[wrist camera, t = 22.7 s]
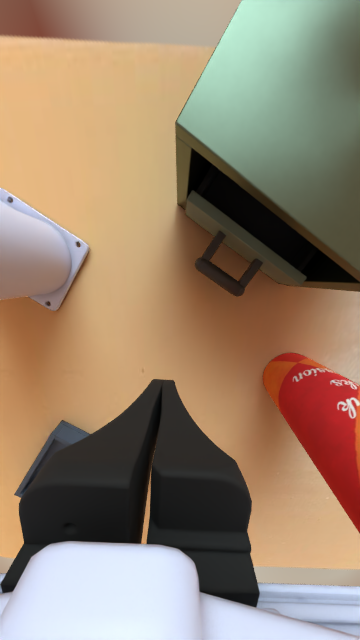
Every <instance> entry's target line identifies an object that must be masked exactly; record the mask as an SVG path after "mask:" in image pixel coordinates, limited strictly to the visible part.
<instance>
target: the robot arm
mask: <svg viewBox="0 0 360 640" xmlns="http://www.w3.org/2000/svg"><path fill="white" fill-rule="evenodd" d="M12 199H13V202H12V203H11V200H12ZM79 242H80V244H81V246H80V247H78V243H79ZM88 252H89V246H88V244H86V243H85V242H83V241H82V240H80V239H79V238H77V237H76V236H74V235H73V234H71V233H70V232H68V231H67V230H65V229H64V228H62V227H61V226H59V225H58V224H56V223H55V222H53V221H52V220H50V219H49V218H47V217H46V216H44V215H43V214H41V213H39V212H38V211H36V210H35V209H33V208H32V207H30V206H29V205H27V204H26V203H24V202H23V201H21V200H20V199H18V198H17V197H15V196H14V195H12V194H11V193H9V192H8V191H6V190H4V189H2V188H0V300H3V299H11V298H18V297H26V296H28V297H29V298H31V299H33V300H34V301H36V302H38V303H39V304H41V305H43V306H45V307H46V308H48V309H50V310H52V311H56V310H58V309H59V307H60V305H61V303H62V301H63V299H64V298H65V296H66V294H67V292H68V290H69V288H70V286H71V284H72V282H73V280H74V278H75V277H76V275H77V273H78V271H79V269H80V267H81V265H82V263H83V261H84V259H85V258H86V256H87V254H88ZM48 302H50V305H49V304H48ZM155 446H156V448H155ZM154 451H155V452H154ZM153 455H154V457H153ZM152 460H153V461H152ZM151 465H152V470H151ZM150 471H151V498H150V519H149V527H148V535H147V544H141V540H142V532H143V524H144V516H145V508H146V500H147V493H148V485H149V478H150ZM251 507H252V501H251V498H250V494H249V490H248V487H247V485H246V482H245V480H244V478H243V476H242V473H241V471H240V469H239V467H238V465H237V463H236V461H235V460H234V459H233V458H231V457H230V456H229V455H227V454H226V453H225V452H224V451H222V450H221V449H220V448H219V447H217V446H216V445H215V444H214V443H213V442H212V441H211V440H210V439H209V438H208V437H207V436H206V435H205V434H204V433H203V432H202V431H201V429H200V428H199V427H198V426H197V424H196V423H195V422H194V420H193V419H192V418H191V416H190V415H189V413H188V412H187V410H186V408H185V406H184V405H183V403H182V401H181V399H180V397H179V394H178V392H177V389H176V386H175V382H174V381H173V380H159V379H153V380H152V381H151V383H150V384H149V385H148V387H147V388H146V389H145V390H144V392H143V393H142V394H141V395H140V396H139V397H138V398H137V399H136V400H135V401H134V402H133V403H132V404H131V405H130V406H129V407H128V408H127V409H126V410H125V411H124V412H123V413H122V414H120V415H119V416H118V417H117V418H115V419H114V420H113V421H111V422H110V423H108V424H107V425H105V426H104V427H102V428H101V429H99V430H98V431H96V432H94V433H93V434H91V435H89V436H87V437H85V438H84V439H82V440H80V441H78V442H76V443H74V444H71V445H69V446H67V447H65V448H63V449H61V450H59V451H56V452H55V453H54V454H53V455H52V457H51V458H50V459H49V460H48V461H47V463H46V464H45V465H44V466H43V468H42V469H41V470H40V472H39V473H38V475H37V476H36V477H35V479H34V480H33V482H32V483H31V484H30V486H29V487H28V489H27V490H26V491H25V493H24V494H23V496H22V498H21V500H20V503H19V516H20V522H21V527H22V533H23V538H24V544H23V546H22V548H21V549H20V551H19V553H18V555H17V556H16V558H15V560H14V561H13V563H12V565H11V567H10V569H9V570H8V572H7V573H6V574H2V573H1V574H0V640H360V586H334V585H333V586H332V585H306V584H278V583H257V580H256V576H255V572H254V568H253V564H252V560H251V556H250V553H251V544H250V541H249V537H248V533H247V529H248V524H249V519H250V514H251Z"/></svg>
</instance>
